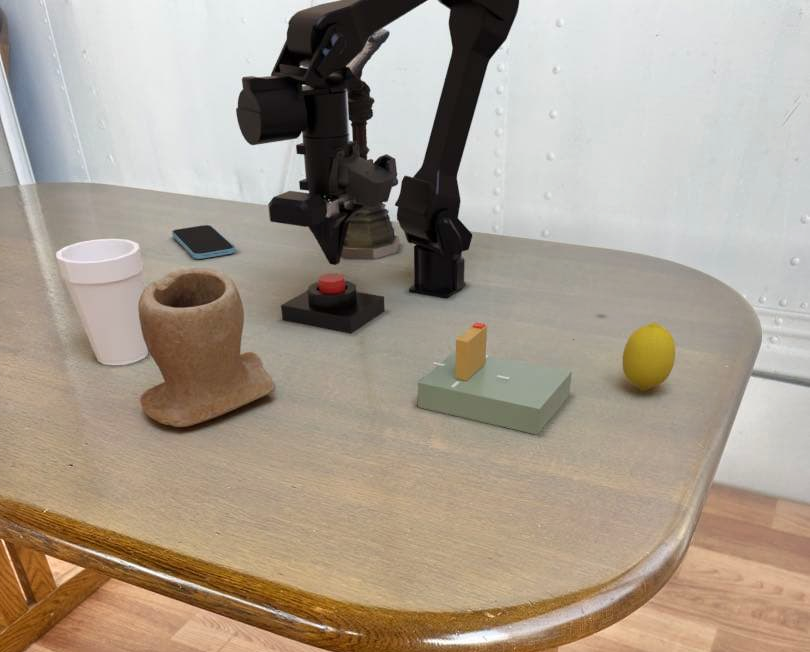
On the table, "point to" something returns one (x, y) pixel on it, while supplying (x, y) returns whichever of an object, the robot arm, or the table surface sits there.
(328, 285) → the button
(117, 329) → the foam cup
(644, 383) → the lemon
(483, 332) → the orange flat slab
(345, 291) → the release button base
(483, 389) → the plate
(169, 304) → the stone cup
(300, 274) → the table surface
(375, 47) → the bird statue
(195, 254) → the smartphone
